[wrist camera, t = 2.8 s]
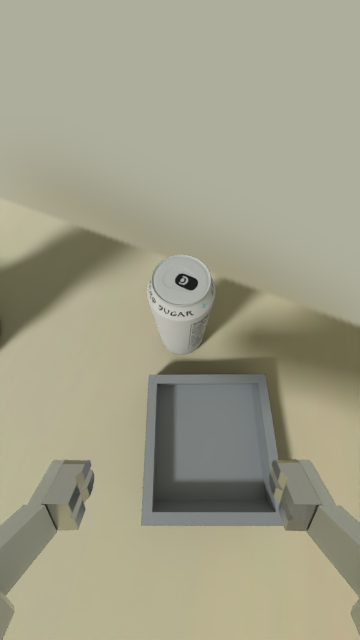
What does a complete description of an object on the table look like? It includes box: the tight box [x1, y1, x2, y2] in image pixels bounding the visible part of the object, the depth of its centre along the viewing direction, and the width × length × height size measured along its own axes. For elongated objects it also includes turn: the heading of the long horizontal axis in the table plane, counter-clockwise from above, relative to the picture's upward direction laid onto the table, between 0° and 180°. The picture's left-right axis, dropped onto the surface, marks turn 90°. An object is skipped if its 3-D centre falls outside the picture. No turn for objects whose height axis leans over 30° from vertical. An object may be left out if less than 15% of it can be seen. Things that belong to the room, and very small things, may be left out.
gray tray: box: [141, 374, 284, 526], centre depth 24 cm, size 14×14×4 cm
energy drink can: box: [147, 255, 216, 355], centre depth 24 cm, size 6×6×15 cm
